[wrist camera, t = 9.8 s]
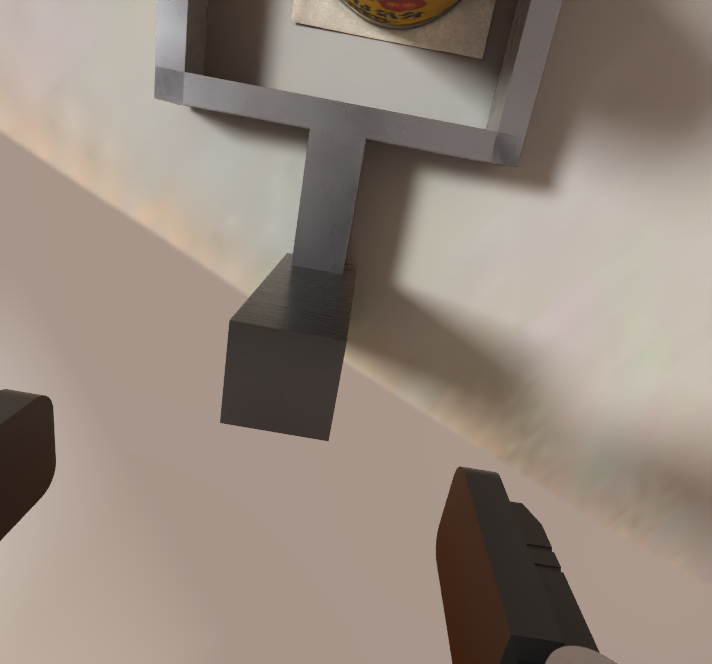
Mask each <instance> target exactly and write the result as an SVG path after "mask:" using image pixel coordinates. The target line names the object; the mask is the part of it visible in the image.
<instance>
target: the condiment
mask: <svg viewBox="0 0 712 664" xmlns="http://www.w3.org/2000/svg"><path fill="white" fill-rule="evenodd" d="M495 2H496V0H293V8H292V15H291V21H292V22H296V23H301V24H306V25H311V26H316V27H321V28H324V29H331V30H336V31H340V32H345V33H350V34H354V35H360V36H365V37H369V38H374V39H379V40H384V41H390V42H395V43H400V44H406V45H411V46H416V47H421V48H426V49H432V50H436V51H444V52H449V53H454V54H459V55H464V56H469V57H474V58H479V59H482V58H483V54H484V50H485V45H486V41H487V37H488V32H489V28H490V24H491V19H492V15H493V11H494V6H495Z"/></svg>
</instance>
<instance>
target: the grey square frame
mask: <svg viewBox="0 0 712 664" xmlns="http://www.w3.org/2000/svg"><path fill="white" fill-rule="evenodd" d="M562 2H563V0H518V3H517V7H516V11H515V15H514V19H513V23H512V27H511V31H510V35H509V39H508V43H507V47H506V51H505V55H504V59H503V63H502V67H501V71H500V75H499V79H498V83H497V87H496V91H495V95H494V99H493V103H492V108H491V112H490V116H489V120H488V124H487V128H486V130H485V129H480V128H474V127H469V126H464V125H459V124H454V123H448V122H443V121H438V120H433V119H427V118H422V117H417V116H412V115H407V114H401V113H396V112H391V111H386V110H380V109H375V108H370V107H365V106H360V105H354V104H349V103H344V102H339V101H333V100H328V99H323V98H318V97H313V96H307V95H302V94H297V93H292V92H286V91H281V90H276V89H271V88H266V87H260V86H255V85H250V84H245V83H239V82H234V81H229V80H224V79H219V78H213V77H208V76H204V62H205V45H206V29H207V13H208V0H157V29H156V62H155V94H154V98H156V99H159V100H163V101H167V102H171V103H175V104H179V105H185V106H190V107H195V108H200V109H206V110H211V111H216V112H222V113H227V114H232V115H237V116H243V117H248V118H253V119H259V120H264V121H269V122H274V123H280V124H285V125H290V126H296V127H301V128H306V129H310V131H309V139H308V146H307V154H306V161H305V169H304V176H303V184H302V191H301V199H300V206H299V214H298V221H297V229H296V236H295V244H294V251H293V254H289V253H287V254H286V255H285V256H284V258H283V259H282V260H281V261H280V262H279V263H278V265H277V266H276V267H275V268H274V269H273V270H272V272H271V273H270V274H269V275H268V276H267V277H266V279H265V280H264V281H263V282H262V283H261V284H260V286H259V287H258V288H257V289H256V290H255V291H254V293H253V294H252V295H251V296H250V297H249V298H248V300H247V301H246V302H245V303H244V304H243V305H242V307H241V308H240V309H239V310H238V311H237V312H236V314H235V315H234V316H233V317H232V318H231V320H230V322H229V332H228V344H227V354H226V366H225V377H224V387H223V398H222V408H221V420H220V423H224V424H230V425H236V426H242V427H248V428H254V429H260V430H266V431H272V432H278V433H283V434H289V435H295V436H301V437H307V438H313V439H319V440H325V441H328V440H329V435H330V430H331V424H332V419H333V413H334V408H335V402H336V397H337V391H338V386H339V380H340V374H341V369H342V364H343V359H344V353H345V348H346V342H347V335H348V327H349V320H350V312H351V305H352V297H353V289H354V282H355V274H356V266H355V265H350V264H345V261H346V255H347V250H348V244H349V238H350V232H351V226H352V220H353V215H354V209H355V203H356V197H357V191H358V185H359V179H360V174H361V168H362V162H363V156H364V150H365V144H366V140H369V141H375V142H380V143H385V144H391V145H396V146H401V147H406V148H412V149H417V150H422V151H428V152H433V153H438V154H443V155H449V156H454V157H459V158H465V159H470V160H475V161H480V162H486V163H491V164H496V165H502V166H512V167H517V165H518V162H519V158H520V154H521V151H522V147H523V143H524V140H525V136H526V132H527V129H528V125H529V122H530V118H531V114H532V111H533V107H534V103H535V100H536V96H537V93H538V89H539V85H540V82H541V78H542V74H543V71H544V67H545V64H546V60H547V56H548V53H549V49H550V45H551V42H552V38H553V35H554V31H555V27H556V24H557V20H558V16H559V13H560V9H561V5H562Z"/></svg>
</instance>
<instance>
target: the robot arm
mask: <svg viewBox="0 0 712 664" xmlns="http://www.w3.org/2000/svg"><path fill="white" fill-rule="evenodd" d="M55 467H56V455H55V436H54V416H53V405H52V402H51V400H50V398H49V397H47V396H43V395H37V394H31V393H25V392H19V391H14V390H8V389H4V390H0V541H1V540H2V538H3V537H4V536H5V535H6V534H7V533H8V532H9V531H10V530H11V529H12V528H13V527H14V526H15V525H16V524H17V523H18V522H19V521H20V520H21V518H22V517H23V516H24V515H25V514H26V513H27V512H28V511H29V510H30V509H31V508H32V507H33V506H34V505H35V504H36V503H37V501H39V499H40V498H41V497H42V496H43V495H44V494H45V492H46V491H47V489H48V488H49V486H50V484H51V481H52V479H53V476H54V472H55ZM436 561H437V567H438V574H439V580H440V586H441V594H442V600H443V606H444V612H445V618H446V625H447V631H448V638H449V644H450V651H451V657H452V664H617V663H615V662H614V661H613V660H611V659H609V658H608V657H606V656H604V655H603V654H600V652H599V650H598V648H597V646H596V644H595V642H594V639H593V637H592V635H591V633H590V631H589V628H588V626H587V624H586V622H585V619H584V617H583V615H582V613H581V611H580V609H579V606H578V605H577V602H576V600H575V597H574V595H573V593H572V591H571V589H570V586H569V584H568V582H567V580H566V578H565V575H564V573H562V572H561V566H560V564H559V562H558V560H557V558H556V556H555V553H554V552H552V547H551V544H550V542H549V540H548V538H547V536H546V533H545V531H544V529H543V527H542V525H541V524H540V522H539V521H538V520H537V519H536V518H535V517H534V516H533V515H532V514H531V513H530V511H529V510H528V509H527V508H526V507H525V506H524V505H523V504H522V503H516V502H510V501H509V498H508V496H507V493H506V491H505V488H504V486H503V483H502V480H501V478H500V476H499V474H498V473H496V472H490V471H484V470H478V469H472V468H466V467H458V468H457V470H456V472H455V474H454V477H453V480H452V484H451V487H450V490H449V494H448V498H447V501H446V504H445V507H444V511H443V514H442V517H441V521H440V524H439V528H438V533H437V540H436Z"/></svg>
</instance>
